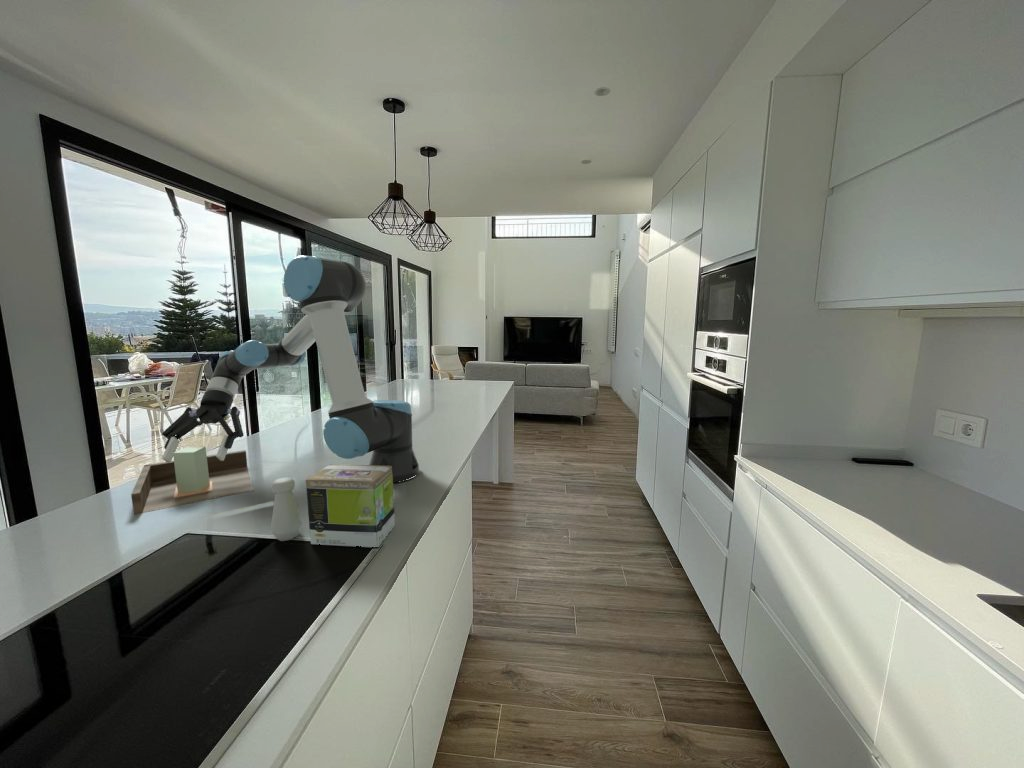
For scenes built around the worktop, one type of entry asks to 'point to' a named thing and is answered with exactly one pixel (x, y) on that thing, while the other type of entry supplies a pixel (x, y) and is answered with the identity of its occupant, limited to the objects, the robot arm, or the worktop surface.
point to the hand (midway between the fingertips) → (193, 459)
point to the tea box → (350, 505)
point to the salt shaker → (285, 510)
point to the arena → (160, 488)
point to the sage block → (191, 469)
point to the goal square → (206, 489)
